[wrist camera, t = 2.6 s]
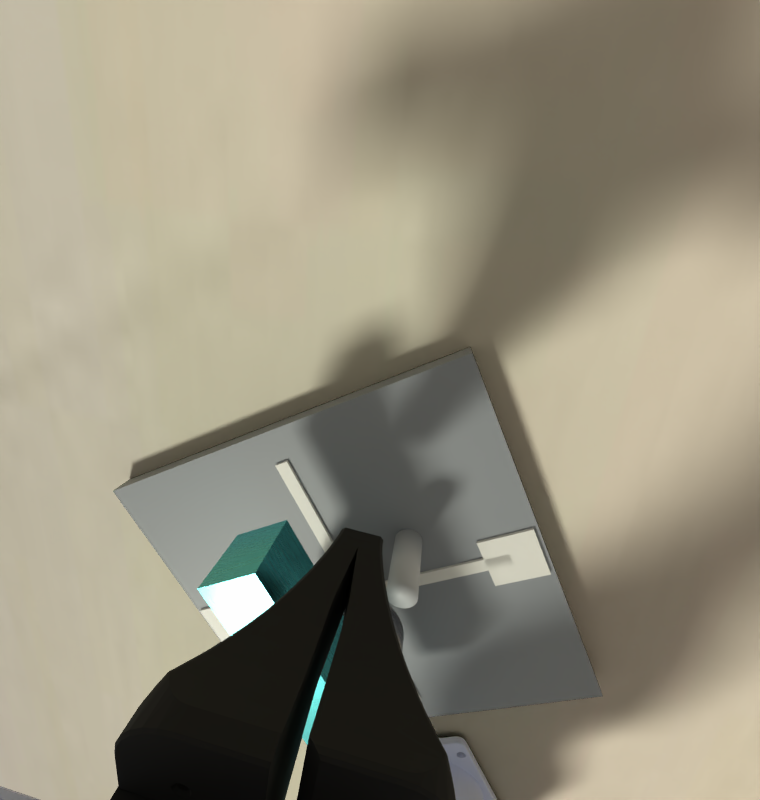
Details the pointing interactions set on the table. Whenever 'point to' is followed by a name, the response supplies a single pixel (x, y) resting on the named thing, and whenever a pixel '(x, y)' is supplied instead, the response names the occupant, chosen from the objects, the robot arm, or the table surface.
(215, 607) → the teal rectangular block
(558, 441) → the table surface
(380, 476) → the lock board
